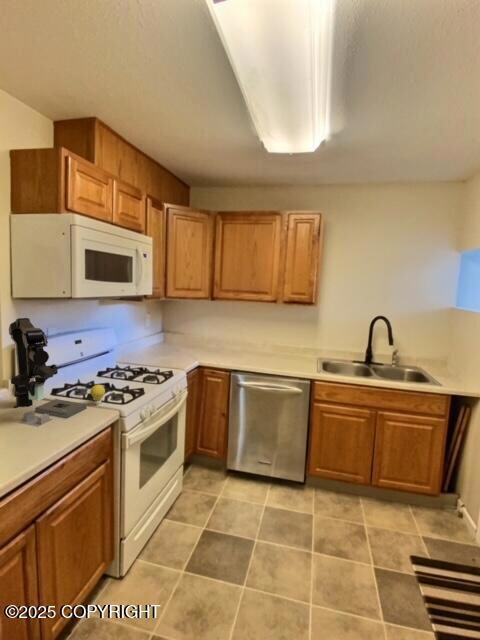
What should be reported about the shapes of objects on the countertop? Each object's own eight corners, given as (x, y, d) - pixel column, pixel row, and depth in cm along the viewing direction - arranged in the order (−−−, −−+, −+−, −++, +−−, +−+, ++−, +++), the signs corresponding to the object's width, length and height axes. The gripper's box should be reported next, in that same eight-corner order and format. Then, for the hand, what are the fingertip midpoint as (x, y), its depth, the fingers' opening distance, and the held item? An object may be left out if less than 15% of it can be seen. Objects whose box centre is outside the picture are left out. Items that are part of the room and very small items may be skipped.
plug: (28, 399, 151) (28, 383, 150) (34, 396, 154) (34, 381, 153) (38, 400, 150) (37, 384, 149) (43, 398, 152) (43, 382, 152)
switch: (35, 413, 162) (35, 407, 161) (56, 404, 173) (55, 398, 173) (67, 420, 157) (67, 413, 156) (86, 410, 168) (86, 403, 167)
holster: (19, 424, 150) (18, 416, 150) (35, 417, 158) (34, 409, 157) (37, 428, 148) (37, 419, 147) (53, 421, 155) (52, 412, 155)
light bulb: (100, 407, 172) (99, 387, 170) (87, 406, 173) (87, 386, 172) (107, 402, 178) (107, 383, 177) (96, 401, 179) (95, 382, 178)
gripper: (30, 366, 138) (32, 405, 140) (67, 356, 156) (68, 390, 158) (8, 363, 141) (10, 401, 144) (46, 353, 159) (48, 387, 161)
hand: (36, 394), depth 152 cm, fingers closed on plug, 3 cm apart
